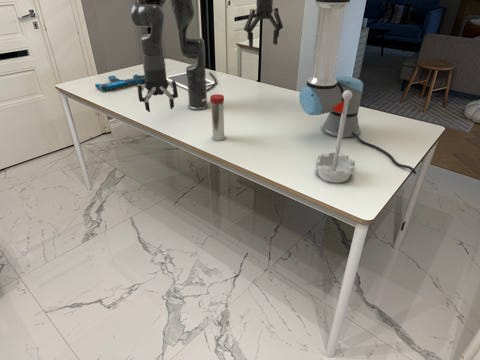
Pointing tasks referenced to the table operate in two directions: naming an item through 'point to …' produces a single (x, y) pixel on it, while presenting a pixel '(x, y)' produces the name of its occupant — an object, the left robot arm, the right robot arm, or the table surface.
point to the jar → (218, 121)
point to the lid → (216, 99)
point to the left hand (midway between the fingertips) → (160, 109)
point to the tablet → (184, 80)
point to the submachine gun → (120, 82)
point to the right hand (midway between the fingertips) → (263, 45)
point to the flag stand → (337, 151)
